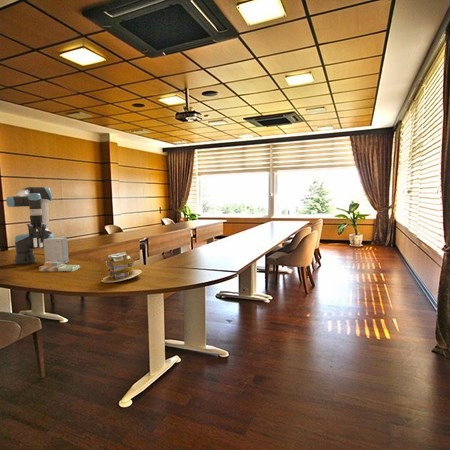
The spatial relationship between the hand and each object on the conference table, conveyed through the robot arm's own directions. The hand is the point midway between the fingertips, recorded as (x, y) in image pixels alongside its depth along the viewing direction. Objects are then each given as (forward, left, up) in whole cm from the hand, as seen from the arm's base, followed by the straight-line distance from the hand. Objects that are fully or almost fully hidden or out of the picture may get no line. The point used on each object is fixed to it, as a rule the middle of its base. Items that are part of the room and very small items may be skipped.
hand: (38, 246), depth 223 cm
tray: (+23, 0, -17) cm, 28 cm away
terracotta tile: (+8, 0, -14) cm, 16 cm away
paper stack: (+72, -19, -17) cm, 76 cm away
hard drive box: (0, +19, -17) cm, 25 cm away
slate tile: (+13, 0, -14) cm, 19 cm away
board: (+10, 0, -17) cm, 19 cm away
